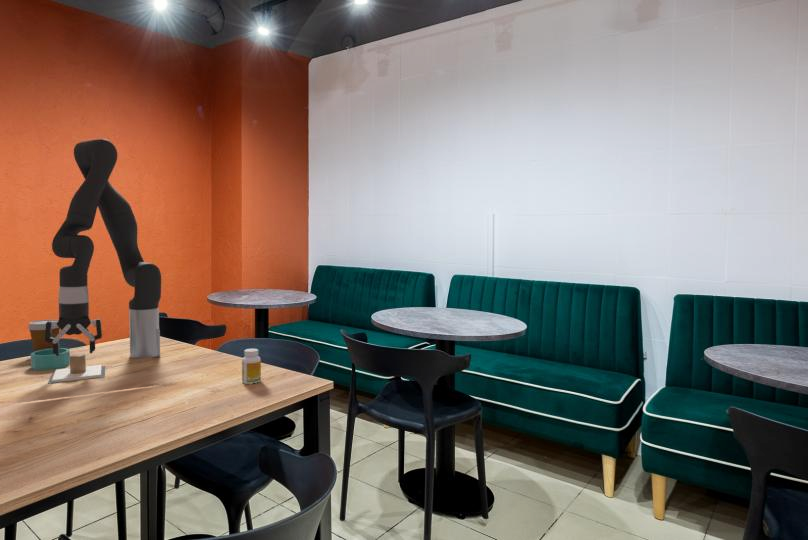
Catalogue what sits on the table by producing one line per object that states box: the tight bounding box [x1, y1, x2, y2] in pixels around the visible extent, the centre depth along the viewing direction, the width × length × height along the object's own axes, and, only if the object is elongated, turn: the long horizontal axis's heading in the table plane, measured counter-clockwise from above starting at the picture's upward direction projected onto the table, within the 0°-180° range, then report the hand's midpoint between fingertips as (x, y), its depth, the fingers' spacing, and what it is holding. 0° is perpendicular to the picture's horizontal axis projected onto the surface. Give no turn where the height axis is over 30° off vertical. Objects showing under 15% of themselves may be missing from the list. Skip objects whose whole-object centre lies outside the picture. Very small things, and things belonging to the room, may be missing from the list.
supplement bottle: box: [241, 348, 262, 385], centre depth 148 cm, size 5×5×10 cm
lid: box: [52, 353, 103, 383], centre depth 151 cm, size 12×12×6 cm
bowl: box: [30, 347, 71, 371], centre depth 159 cm, size 10×10×5 cm
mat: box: [47, 365, 106, 385], centre depth 151 cm, size 14×14×1 cm
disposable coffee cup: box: [27, 319, 61, 352], centre depth 173 cm, size 10×10×12 cm
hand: (74, 354), depth 150 cm, fingers open, 8 cm apart
